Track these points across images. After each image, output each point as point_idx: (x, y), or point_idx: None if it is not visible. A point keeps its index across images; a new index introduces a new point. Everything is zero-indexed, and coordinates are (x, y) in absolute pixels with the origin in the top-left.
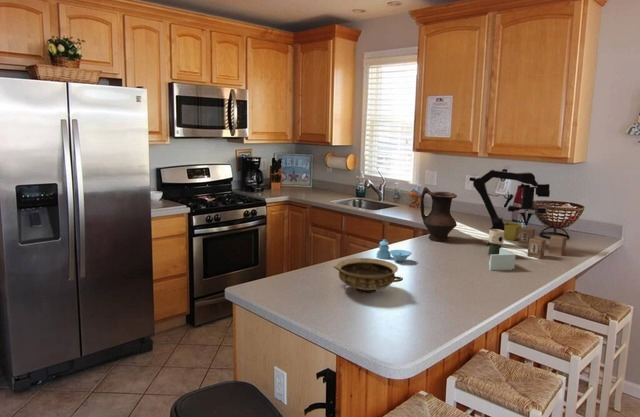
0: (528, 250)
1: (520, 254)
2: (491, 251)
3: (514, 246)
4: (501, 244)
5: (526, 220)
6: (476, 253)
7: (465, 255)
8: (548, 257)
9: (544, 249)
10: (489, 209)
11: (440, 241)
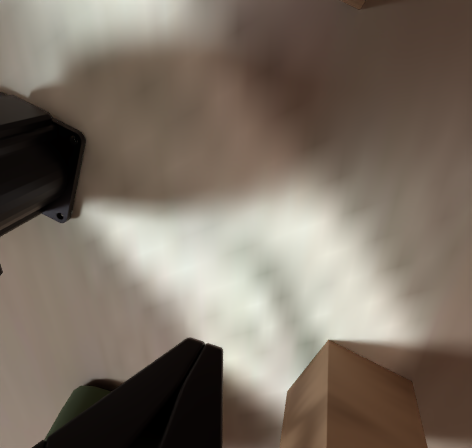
0: (284, 433)
1: (244, 358)
2: None
3: (193, 115)
4: (80, 137)
5: (146, 442)
6: (26, 386)
7: (3, 422)
8: (446, 390)
9: (421, 442)
10: None
11: None
